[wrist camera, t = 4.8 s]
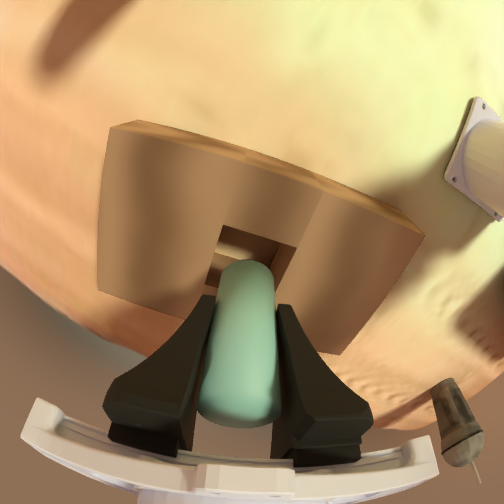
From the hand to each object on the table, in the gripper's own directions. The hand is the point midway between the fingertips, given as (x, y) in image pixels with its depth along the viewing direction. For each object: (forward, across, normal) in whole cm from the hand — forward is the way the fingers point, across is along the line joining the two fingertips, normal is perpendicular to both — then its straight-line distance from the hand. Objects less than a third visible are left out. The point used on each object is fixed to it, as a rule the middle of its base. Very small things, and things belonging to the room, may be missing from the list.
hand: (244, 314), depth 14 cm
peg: (+2, 0, 0) cm, 3 cm away
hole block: (+8, 0, 0) cm, 8 cm away
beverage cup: (+8, -34, +22) cm, 42 cm away
